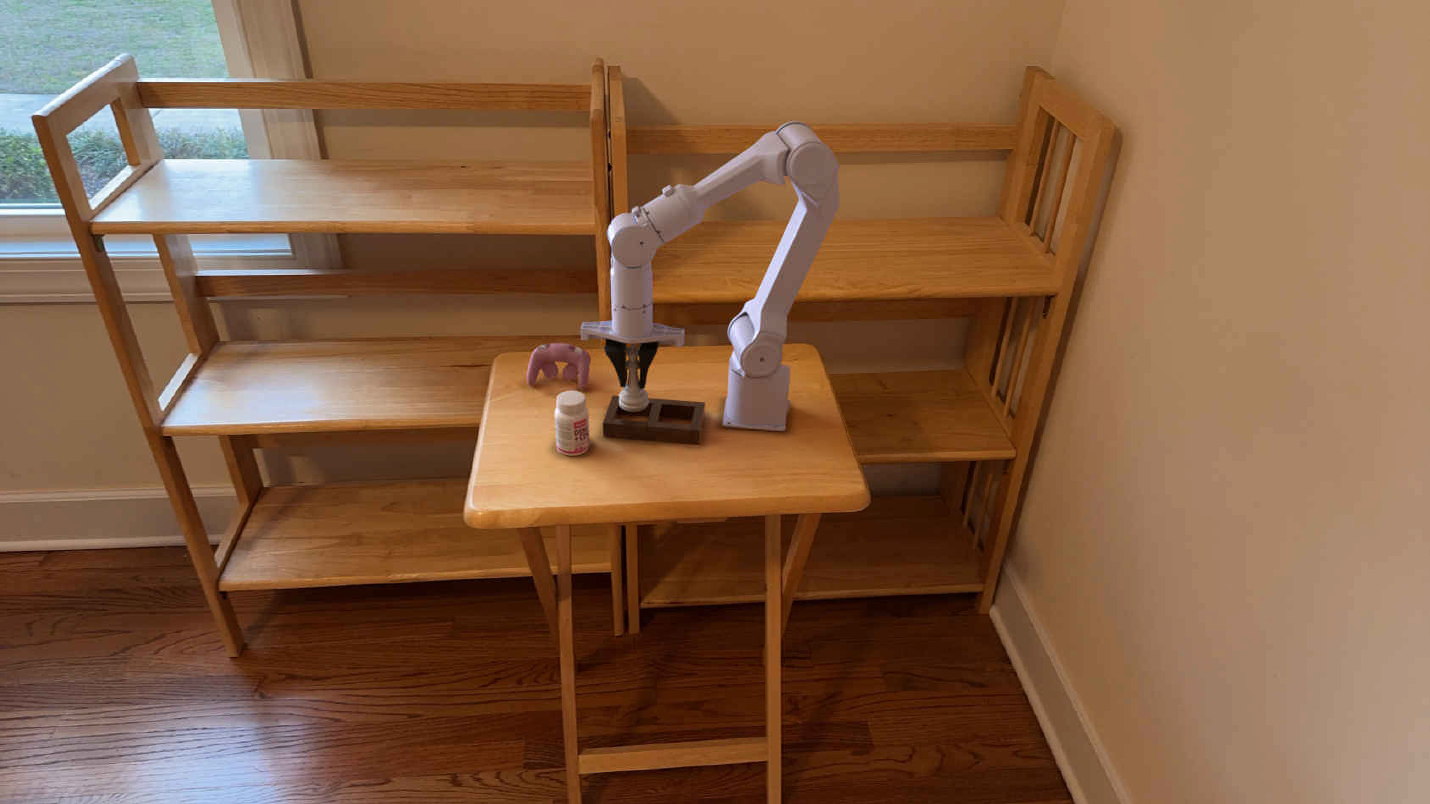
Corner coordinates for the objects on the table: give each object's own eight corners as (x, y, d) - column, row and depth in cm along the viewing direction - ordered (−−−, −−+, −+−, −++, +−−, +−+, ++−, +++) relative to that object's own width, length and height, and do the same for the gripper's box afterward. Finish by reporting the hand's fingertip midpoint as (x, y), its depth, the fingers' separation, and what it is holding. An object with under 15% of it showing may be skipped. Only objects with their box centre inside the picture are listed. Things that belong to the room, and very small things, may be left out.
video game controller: (591, 388, 155) (594, 345, 154) (585, 390, 150) (588, 346, 149) (531, 383, 155) (533, 340, 155) (523, 385, 151) (526, 341, 150)
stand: (704, 416, 146) (705, 402, 145) (699, 444, 139) (699, 430, 138) (612, 408, 147) (612, 395, 146) (603, 437, 140) (602, 423, 139)
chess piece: (649, 411, 140) (648, 352, 134) (619, 412, 139) (617, 352, 134) (648, 396, 143) (647, 337, 138) (618, 396, 143) (617, 337, 138)
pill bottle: (580, 459, 135) (578, 409, 131) (550, 452, 137) (547, 402, 132) (595, 442, 139) (593, 393, 135) (566, 435, 140) (563, 386, 136)
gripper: (687, 291, 135) (686, 374, 143) (586, 284, 136) (590, 367, 143) (681, 313, 129) (680, 398, 137) (575, 306, 130) (580, 391, 137)
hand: (633, 384), depth 140 cm, fingers closed on chess piece, 2 cm apart
